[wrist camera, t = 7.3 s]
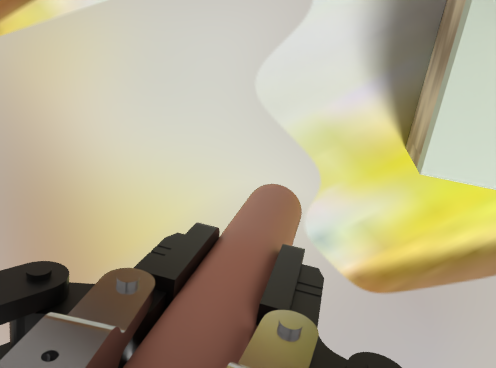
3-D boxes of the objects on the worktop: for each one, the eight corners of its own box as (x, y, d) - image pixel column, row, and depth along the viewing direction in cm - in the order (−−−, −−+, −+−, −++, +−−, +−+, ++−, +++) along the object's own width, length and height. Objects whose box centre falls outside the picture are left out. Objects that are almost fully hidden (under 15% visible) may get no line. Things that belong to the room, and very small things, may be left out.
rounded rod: (249, 179, 18) (81, 378, 7) (305, 189, 18) (223, 420, 6) (243, 230, 19) (83, 485, 8) (296, 241, 18) (210, 528, 7)
